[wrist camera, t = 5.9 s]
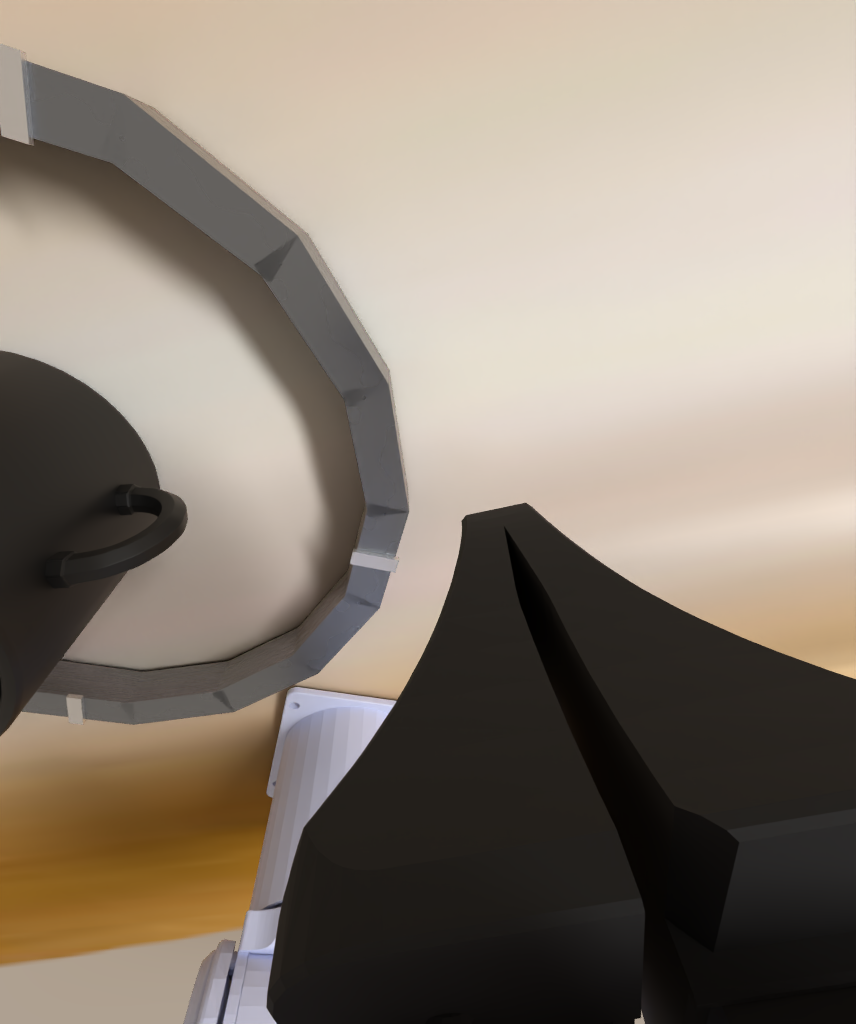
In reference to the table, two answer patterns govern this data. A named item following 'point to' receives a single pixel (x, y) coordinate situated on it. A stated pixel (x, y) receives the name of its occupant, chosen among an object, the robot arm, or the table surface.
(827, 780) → the robot arm
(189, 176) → the ring
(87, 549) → the mug
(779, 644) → the table surface
